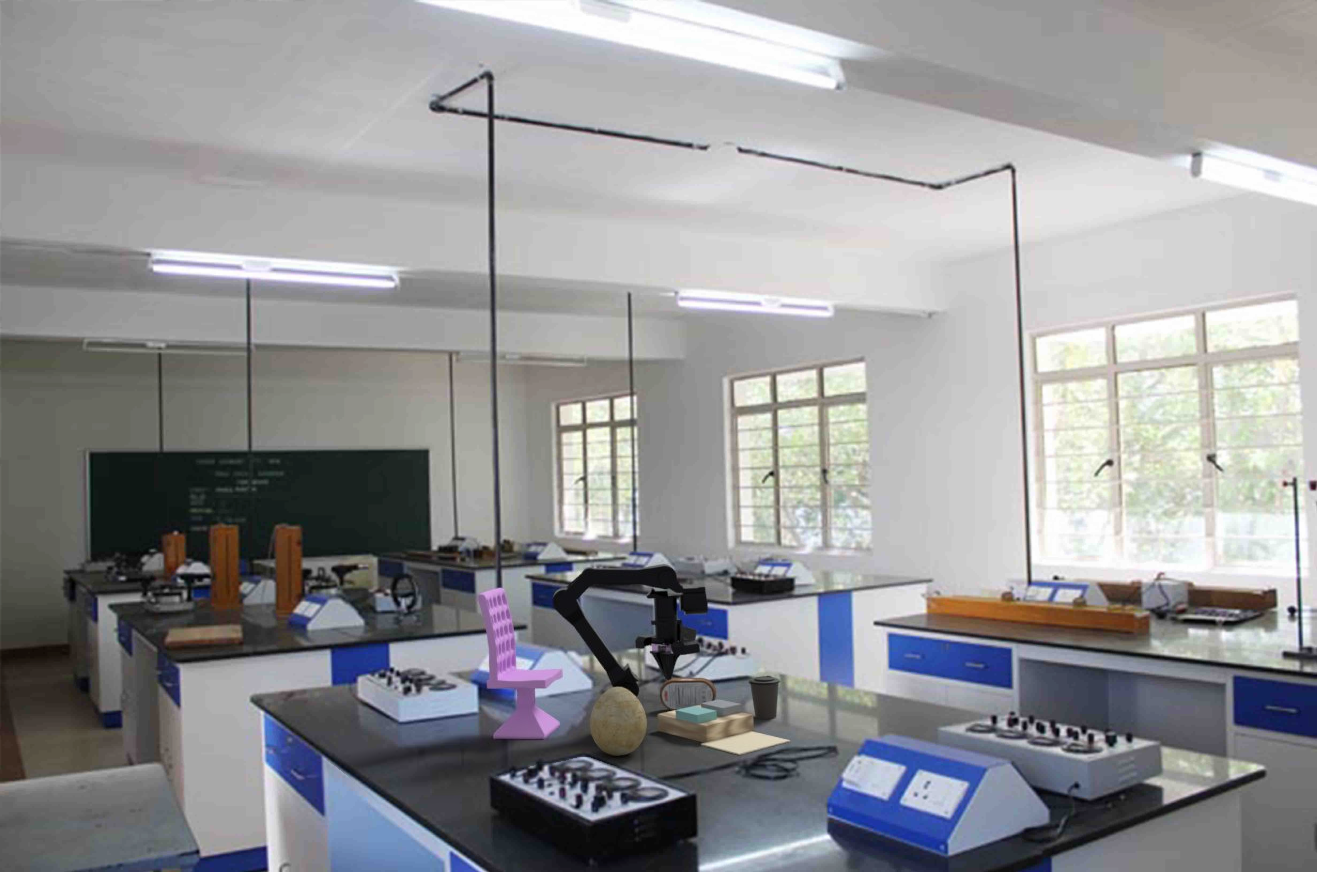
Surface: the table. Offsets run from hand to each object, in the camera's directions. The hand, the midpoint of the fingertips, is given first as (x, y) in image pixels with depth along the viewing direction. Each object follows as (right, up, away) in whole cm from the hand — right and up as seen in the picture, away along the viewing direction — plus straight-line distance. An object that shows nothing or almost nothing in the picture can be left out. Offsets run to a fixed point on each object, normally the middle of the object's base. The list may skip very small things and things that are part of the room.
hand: (668, 679), depth 255 cm
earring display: (-36, -14, +2) cm, 39 cm away
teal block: (+7, -7, -8) cm, 13 cm away
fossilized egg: (-11, -12, -23) cm, 28 cm away
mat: (+18, -11, -17) cm, 27 cm away
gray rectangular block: (+13, -8, -2) cm, 15 cm away
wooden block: (+9, -12, -4) cm, 15 cm away
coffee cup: (+25, -12, +9) cm, 29 cm away
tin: (+6, -13, +20) cm, 25 cm away
